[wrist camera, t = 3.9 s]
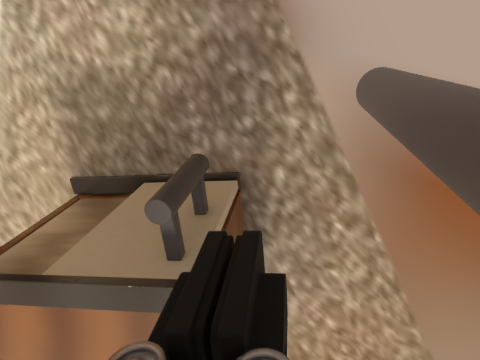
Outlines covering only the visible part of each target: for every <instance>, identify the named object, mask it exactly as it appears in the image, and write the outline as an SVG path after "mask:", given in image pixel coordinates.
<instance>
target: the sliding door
mask: <svg viewBox="0 0 480 360" xmlns="http://www.w3.org/2000/svg"><path fill="white" fill-rule="evenodd" d="M208 168H209V161H208V159H207V158H206V157H205V156H204V155H202V154H199V153H197V154H193V155H192V156H191V157H190V158H189V159H188V160H187V161H186V162H185V163H184V164H183V165H182V166H181V167H180V168H179V169H178V170H177V171H176V173H175V174H174V175H173V176H172V177H171V178H170V179H169V180H168V181H167V182H158V183H144V184H142V185H141V186H140V187H139V188H138V189H137V190H136V191H135V192H134V193H132V194H131V195H130V196H129V197H128V198H127V199H126V200H125V201H123V202H122V203H121V204H120V205H119V206H118V207H117V208H116V209H115V210H113V211H112V212H111V213H110V214H109V215H108V216H107V217H106V218H104V219H103V220H102V221H101V222H100V223H99V224H98V225H97V226H96V227H94V228H93V229H92V230H91V231H90V232H89V233H88V234H87V235H85V236H84V237H83V238H82V239H81V240H80V241H79V242H78V243H76V244H75V245H74V246H73V247H72V248H71V249H70V250H69V251H68V252H66V253H65V254H64V255H63V256H62V257H61V258H60V259H59V260H57V261H56V262H55V263H54V264H53V265H52V266H51V267H50V268H49V269H47V270H46V271H45V272H44V273H43V274H42V275H66V276H95V277H125V278H155V279H178V277H179V275H180V274H181V273H182V272H190V271H191V269H192V267H193V264H194V262H195V260H196V258H197V255H198V253H199V251H200V249H201V246H202V244H203V242H204V240H205V237H206V235H207V233H208V231H221V229H222V227H223V224H224V222H225V219H226V217H227V215H228V212H229V210H230V207H231V205H232V202H233V200H234V198H235V195H236V193H237V190H238V181H237V180H235V181H204V174H205V172H206V171H207V170H208Z"/></svg>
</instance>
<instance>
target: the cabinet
mask: <svg viewBox="0 0 480 360" xmlns="http://www.w3.org/2000/svg"><path fill="white" fill-rule="evenodd" d="M173 175H174V174H166V175H134V176H101V177H72V178H70V181H71V185H72V188H73V191H74V194H90V195H77V196H75V197H74V198H72V199H71V200H69V201H68V202H66V203H65V204H64V205H62V206H61V207H59V208H58V209H56V210H55V211H53V212H52V213H50V214H49V215H47V216H46V217H44V218H43V219H41V220H40V221H38V222H37V223H35V224H34V225H33V226H31V227H30V228H28V229H27V230H25V231H24V232H22V233H21V234H19V235H18V236H16V237H15V238H13V239H12V240H10V241H9V242H7V243H6V244H4V245H3V246H2V247H0V360H108V359H109V358H110V357H111V356H112V355H113V354H114V353H115V352H117V351H118V350H119V349H121V348H122V347H124V346H126V345H129V344H131V343H134V342H139V341H148V339H149V337H150V335H151V332H152V330H153V328H154V326H155V324H156V322H157V320H158V318H159V316H160V314H161V312H162V310H163V308H164V306H165V304H166V302H167V300H168V298H169V296H170V293H171V291H172V289H173V287H174V285H175V283H176V281H177V279H155V278H125V277H95V276H66V275H42V274H43V273H44V272H45V271H46V270H47V269H49V268H50V267H51V266H52V265H53V264H54V263H55V262H56V261H57V260H59V259H60V258H61V257H62V256H63V255H64V254H65V253H66V252H68V251H69V250H70V249H71V248H72V247H73V246H74V245H75V244H76V243H78V242H79V241H80V240H81V239H82V238H83V237H84V236H85V235H87V234H88V233H89V232H90V231H91V230H92V229H93V228H94V227H96V226H97V225H98V224H99V223H100V222H101V221H102V220H103V219H104V218H106V217H107V216H108V215H109V214H110V213H111V212H112V211H113V210H115V209H116V208H117V207H118V206H119V205H120V204H121V203H122V202H123V201H125V200H126V199H127V198H128V197H129V196H130V195H131V194H110V193H134V192H135V191H136V190H137V189H138V188H139V187H140V186H141V185H142V184H144V183H158V182H167V181H168V180H169V179H170V178H171V177H172V176H173ZM235 180H237V181H238V190H237V191H240V180H239V172H231V173H205V174H204V181H235ZM221 231H226V232H227V235H232V236H233V239H234V244H235V240H236V237H237V235H242V234H243V231H245V229H244V219H243V209H242V199H241V192H237V193H236V195H235V198H234V200H233V202H232V205H231V207H230V210H229V212H228V215H227V217H226V219H225V222H224V224H223V227H222V229H221Z"/></svg>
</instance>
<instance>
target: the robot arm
mask: <svg viewBox="0 0 480 360" xmlns="http://www.w3.org/2000/svg"><path fill="white" fill-rule="evenodd" d="M108 360H289V358H288V357H287V286H286V274H275V273H265V267H264V255H263V242H262V233H261V231H243V234H242V235H237V237H236V240H235V244H234V239H233V236H232V235H227V232H226V231H208V233H207V235H206V237H205V240H204V242H203V244H202V246H201V249H200V251H199V253H198V255H197V258H196V260H195V262H194V264H193V267H192V269H191V271H190V272H182V273H181V274H180V275H179V277H178V279H177V281H176V283H175V285H174V287H173V289H172V291H171V293H170V296H169V298H168V300H167V302H166V304H165V306H164V308H163V310H162V312H161V314H160V316H159V318H158V320H157V322H156V324H155V326H154V328H153V330H152V332H151V335H150V337H149V339H148V341H139V342H134V343H131V344H129V345H126V346H124V347H122V348H121V349H119V350H118V351H117V352H115V353H114V354H113V355H112V356H111V357H110V358H109V359H108Z"/></svg>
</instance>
